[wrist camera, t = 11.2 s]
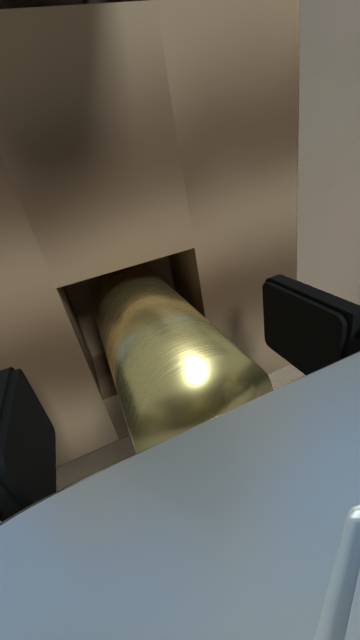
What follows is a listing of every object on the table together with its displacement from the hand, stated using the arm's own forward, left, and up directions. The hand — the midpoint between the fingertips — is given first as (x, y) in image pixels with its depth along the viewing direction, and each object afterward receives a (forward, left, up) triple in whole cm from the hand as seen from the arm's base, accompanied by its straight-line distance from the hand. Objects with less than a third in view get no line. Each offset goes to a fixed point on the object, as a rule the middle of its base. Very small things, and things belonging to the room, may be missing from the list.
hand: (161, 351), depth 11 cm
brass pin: (0, 0, -6) cm, 6 cm away
